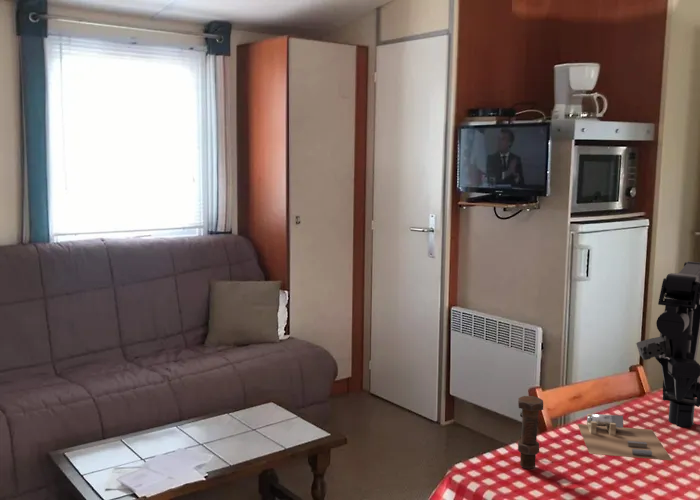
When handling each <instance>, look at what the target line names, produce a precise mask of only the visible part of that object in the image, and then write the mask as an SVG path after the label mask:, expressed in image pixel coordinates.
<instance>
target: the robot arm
mask: <svg viewBox="0 0 700 500" xmlns="http://www.w3.org/2000/svg"><path fill="white" fill-rule="evenodd" d="M657 302H658V303H657V304H658V306H664V310H663V312H662V313H661V314H659V316H658V318H656V322H655V324H656V329H657V331H658V332H659V333H660V334H659V336H657V337H652V338H649V339H648V338H647V339H644V340H640V341H638V342H636V343H635V344H636V348H637V349H638V350H637V351H638V354H639V357H641V358H642V360H643V361H647V360H651V359H652V358H654V359H655V360H656V361H657V362H658V363H659V364H660V368H661V372H662V378H663V381H662V401H666V402H667V401H669V406H668V408H669V409H668V417H667V418H668V420H667V421H668V423H670V424H672V425H675V426H677V427H679V428H687V429H691V428H692V426H693V425H695V423H694V418H695V408H696V407H697V408H698V407H699V408H700V364H699V363H698V362H697V356H698V350H699V349H698V348H699V343H700V262H699V261H689V260H688V261H685V262H684V265H683V267H682V268H681V269H680V271H679V272H678V273H677V272H675V273H674V272H673V273H672V272H670V273H668V274H666V277H664V278H663V279H662V283H661V287H660V293H659V298H658V301H657Z"/></svg>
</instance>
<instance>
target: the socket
mask: <svg viewBox="0 0 700 500" xmlns="http://www.w3.org/2000/svg"><path fill="white" fill-rule="evenodd" d="M627 445H628V447H638V448H647V443H646V442H636V441H628V444H627ZM632 454H633V455H640V456H652V451H651V450H640V449H632Z"/></svg>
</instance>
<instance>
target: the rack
mask: <svg viewBox="0 0 700 500" xmlns="http://www.w3.org/2000/svg"><path fill="white" fill-rule="evenodd" d="M591 414H592V413H587V416H590V417H591ZM587 416H586V417H587ZM586 425H587V426H588V429H589V431H590V433H591V434H596V426H597V423H596V421H591V422H587V421H586ZM606 428H607V430H608V432H609V434H610V435H612V436H615V432H616V424H615V423H610V427H606Z"/></svg>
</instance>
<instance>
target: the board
mask: <svg viewBox="0 0 700 500" xmlns="http://www.w3.org/2000/svg"><path fill="white" fill-rule="evenodd" d="M577 426H578V429H579V432H580V434H581V436H582V438H583V441H584V444H585V446H586V449H587V452H588V453H589V455H590V454H591V455H600V456H610V457H611V456H612V457H614V456H615V457H626V458H639V459H647V460H648V459H650V460H659V461H660V460H663V461H673V459H672V457H671V456H670V455H669V453H668V451H667V450H666V448H665V447H664V445H663V444H662V443H661V441H660V439H659V438H658V437H657V434H656V433H655V432H654V430H653V429H648V428H638V427H637V428H635V427H624V426H623V428H618V427H616V432H615V436H612V435H610V434H609V432H608V430H607V428H606V426H596V434H591V433H590V431H589V429H588V426H587V424H585V423H584V424H583V423H577ZM628 441H636V442H646V443H647V448H638V447H628V445H627V444H628ZM632 449H640V450H651V451H652V456H640V455H633V454H632Z"/></svg>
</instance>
